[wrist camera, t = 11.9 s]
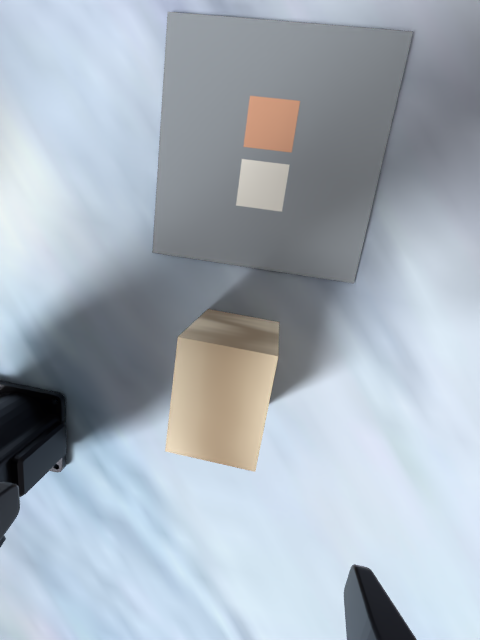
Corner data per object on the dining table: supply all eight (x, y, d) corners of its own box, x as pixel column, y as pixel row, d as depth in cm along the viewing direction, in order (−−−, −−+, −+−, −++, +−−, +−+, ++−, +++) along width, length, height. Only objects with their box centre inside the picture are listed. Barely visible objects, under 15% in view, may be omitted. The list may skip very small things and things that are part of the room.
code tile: (153, 252, 19) (152, 252, 19) (169, 14, 16) (167, 11, 16) (353, 282, 18) (354, 283, 18) (411, 34, 15) (413, 31, 15)
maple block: (196, 393, 21) (165, 451, 15) (208, 308, 20) (177, 336, 14) (262, 407, 21) (255, 471, 15) (279, 321, 19) (278, 356, 13)
